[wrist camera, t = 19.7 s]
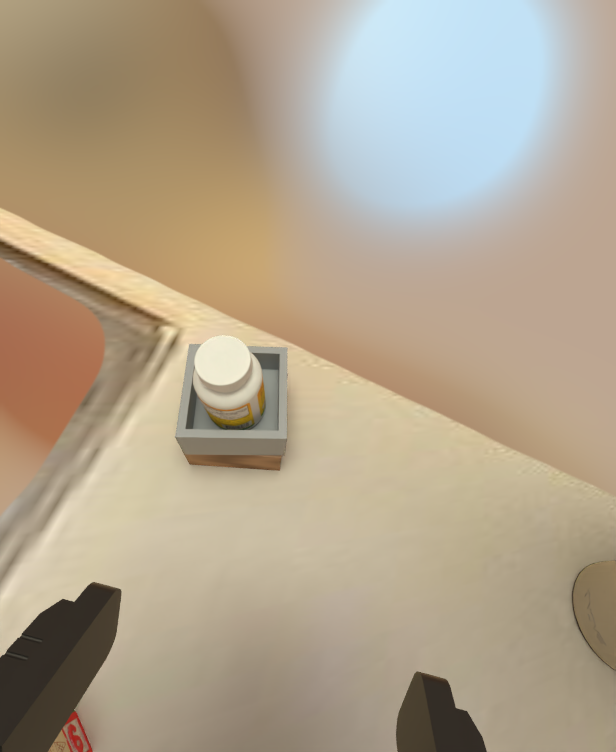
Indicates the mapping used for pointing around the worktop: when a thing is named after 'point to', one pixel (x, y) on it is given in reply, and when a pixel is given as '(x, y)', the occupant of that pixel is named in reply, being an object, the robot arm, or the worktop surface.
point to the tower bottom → (237, 461)
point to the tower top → (261, 439)
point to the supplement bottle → (229, 383)
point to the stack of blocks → (71, 737)
